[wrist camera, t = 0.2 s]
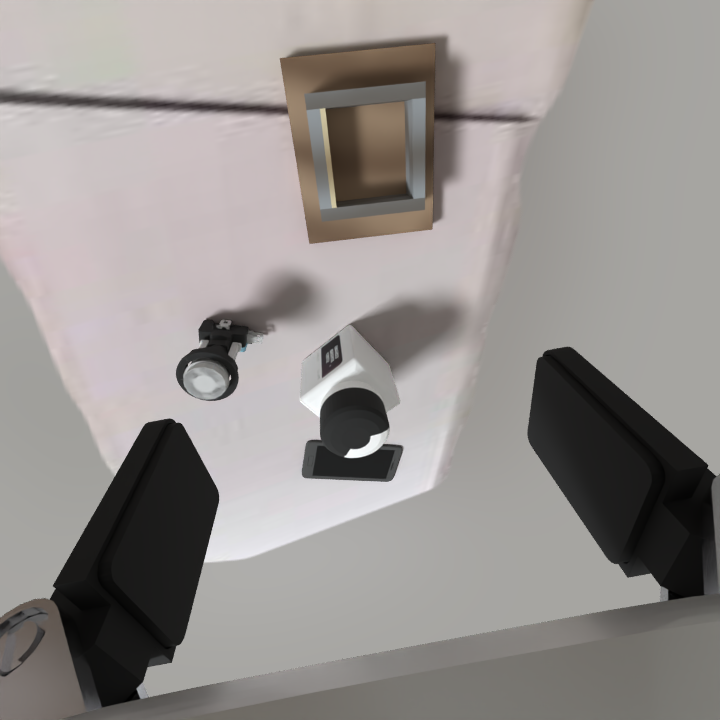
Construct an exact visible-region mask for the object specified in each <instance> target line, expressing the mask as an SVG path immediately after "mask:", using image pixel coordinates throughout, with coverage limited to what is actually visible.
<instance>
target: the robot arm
mask: <svg viewBox="0 0 720 720" xmlns="http://www.w3.org/2000/svg"><path fill="white" fill-rule="evenodd" d="M528 439H529V442H530V444H531V446H532V447H533V449H534V451H535V452H536V454H537V455H538V457H539V458H540V460H541V461H542V462H543V464H544V465H545V467H546V468H547V470H548V471H549V473H550V474H551V476H552V477H553V479H554V480H555V482H556V483H557V485H558V486H559V488H560V489H561V491H562V492H563V494H564V495H565V497H566V498H567V500H568V501H569V502H570V504H571V505H572V507H573V508H574V510H575V511H576V513H577V514H578V516H579V517H580V519H581V520H582V522H583V523H584V525H585V526H586V528H587V529H588V530H589V532H590V533H591V535H592V536H593V538H594V539H595V541H596V542H597V544H598V545H599V547H600V548H601V550H602V551H603V552H604V554H605V556H606V557H607V558H608V559H609V560H610V561H611V562H612V563H614V564H619V566H620V567H621V569H622V570H623V571H624V573H625V574H626V576H627V577H634V576H639V575H645V574H650V573H651V574H652V575H653V577H654V578H655V579H656V581H657V582H658V583H659V585H660V586H661V592H660V594H661V595H660V602H657V603H652V604H646V605H638V606H633V607H626V608H620V609H614V610H608V611H602V612H597V613H591V614H586V615H581V616H575V617H569V618H564V619H558V620H553V621H547V622H542V623H537V624H531V625H525V626H520V627H514V628H509V629H503V630H498V631H492V632H487V633H482V634H476V635H470V636H465V637H460V638H454V639H449V640H444V641H438V642H433V643H428V644H422V645H417V646H411V647H406V648H401V649H395V650H390V651H385V652H379V653H374V654H369V655H363V656H358V657H353V658H347V659H342V660H337V661H332V662H326V663H321V664H316V665H310V666H305V667H300V668H295V669H290V670H284V671H279V672H275V673H269V674H264V675H259V676H253V677H248V678H243V679H238V680H233V681H227V682H222V683H217V684H212V685H207V686H202V687H196V688H191V689H186V690H182V691H177V692H173V693H168V694H163V695H158V696H153V697H149V696H148V694H147V692H146V689H145V687H144V684H143V680H144V677H145V673H146V670H147V667H150V666H155V665H161V664H167V663H172V659H173V656H174V652H175V649H176V646H177V645H180V644H181V642H182V641H183V639H184V636H185V633H186V629H187V625H188V621H189V617H190V614H191V610H192V605H193V602H194V598H195V594H196V590H197V586H198V582H199V578H200V574H201V570H202V566H203V563H204V559H205V555H206V551H207V547H208V543H209V539H210V535H211V531H212V527H213V523H214V519H215V515H216V512H217V508H218V504H219V493H218V489H217V487H216V485H215V484H214V482H213V480H212V478H211V476H210V474H209V472H208V471H207V469H206V467H205V465H204V463H203V461H202V460H201V458H200V456H199V454H198V452H197V450H196V448H195V447H194V445H193V443H192V441H191V439H190V437H189V436H188V434H187V432H186V430H185V428H184V426H183V425H182V424H181V423H176V422H175V421H174V420H173V419H164V420H159V421H153V422H148V423H146V424H145V425H144V427H143V428H142V430H141V432H140V434H139V435H138V437H137V439H136V441H135V442H134V444H133V446H132V448H131V449H130V451H129V453H128V455H127V456H126V458H125V460H124V462H123V463H122V465H121V467H120V469H119V470H118V472H117V474H116V476H115V477H114V479H113V481H112V483H111V484H110V486H109V488H108V490H107V492H106V493H105V495H104V497H103V499H102V501H101V502H100V504H99V506H98V507H97V509H96V511H95V513H94V514H93V516H92V518H91V520H90V521H89V523H88V525H87V527H86V528H85V530H84V532H83V534H82V535H81V537H80V539H79V541H78V542H77V544H76V546H75V548H74V549H73V551H72V553H71V555H70V557H69V558H68V560H67V562H66V563H65V565H64V567H63V569H62V570H61V572H60V574H59V576H58V578H57V579H56V581H55V583H54V585H53V587H55V588H56V589H55V591H54V593H53V594H52V596H51V598H50V600H49V599H46V598H42V599H33V600H31V601H28V602H25V603H23V604H20V605H19V606H17V607H15V608H14V609H12V610H10V611H9V612H7V613H5V614H4V615H3V616H2V617H0V720H720V474H719V475H718V476H715V475H714V474H713V473H712V472H711V471H710V470H709V469H707V467H708V465H707V463H705V462H704V461H703V460H702V459H701V458H700V457H698V456H697V455H696V454H695V453H694V452H693V451H691V450H690V449H689V448H688V447H687V446H686V445H684V444H683V443H682V442H681V441H680V440H679V439H677V438H676V437H675V436H674V435H673V434H672V433H671V432H669V431H668V430H667V429H666V428H665V427H663V426H662V425H661V424H660V423H659V422H657V420H655V419H654V418H653V417H652V416H651V415H650V414H648V413H647V412H646V411H645V410H644V409H643V408H641V407H640V406H639V405H638V404H637V403H636V402H635V401H633V400H632V399H631V398H630V397H628V395H626V394H625V393H624V392H623V391H622V390H620V389H619V388H618V387H617V386H616V385H615V384H613V383H612V382H611V381H610V380H609V379H608V378H606V377H605V376H604V375H603V374H602V373H601V372H600V371H598V370H597V369H596V368H595V367H594V366H593V365H591V364H590V363H589V362H588V361H587V360H586V359H584V358H583V357H582V356H581V355H580V354H578V352H576V351H575V350H574V349H573V348H571V347H563V348H557V349H552V350H547V351H545V352H544V354H543V357H540V358H538V360H537V365H536V372H535V379H534V387H533V394H532V402H531V410H530V418H529V425H528Z"/></svg>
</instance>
